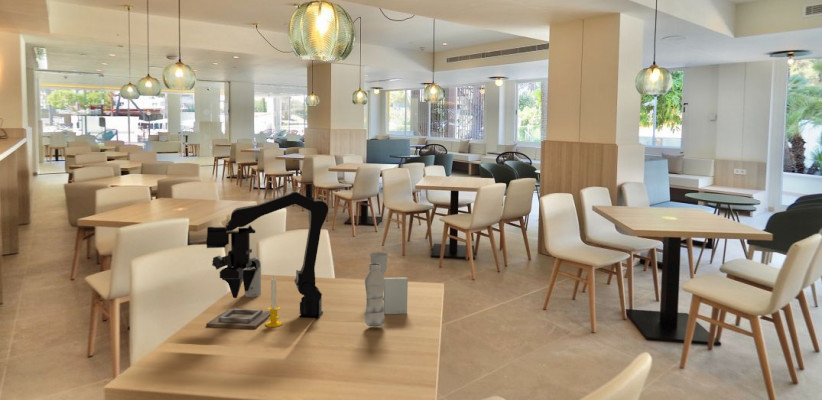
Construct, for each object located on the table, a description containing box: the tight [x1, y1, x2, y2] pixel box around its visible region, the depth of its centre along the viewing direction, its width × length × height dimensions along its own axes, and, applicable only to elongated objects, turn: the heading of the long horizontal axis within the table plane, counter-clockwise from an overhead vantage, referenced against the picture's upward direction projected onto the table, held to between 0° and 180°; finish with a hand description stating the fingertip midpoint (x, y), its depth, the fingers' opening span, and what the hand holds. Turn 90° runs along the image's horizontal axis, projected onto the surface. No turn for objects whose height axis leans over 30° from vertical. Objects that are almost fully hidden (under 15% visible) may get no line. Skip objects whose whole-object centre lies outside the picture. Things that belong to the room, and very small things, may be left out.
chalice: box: [369, 252, 389, 301], centre depth 202 cm, size 7×7×18 cm
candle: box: [264, 276, 283, 328], centre depth 173 cm, size 5×5×16 cm
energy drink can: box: [244, 256, 262, 298], centre depth 205 cm, size 6×6×15 cm
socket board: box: [205, 308, 270, 330], centre depth 177 cm, size 16×16×2 cm
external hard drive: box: [383, 277, 409, 315], centre depth 188 cm, size 2×8×12 cm, turn 98°
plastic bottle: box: [364, 262, 386, 328], centre depth 173 cm, size 6×7×20 cm
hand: (240, 294), depth 177 cm, fingers open, 9 cm apart
